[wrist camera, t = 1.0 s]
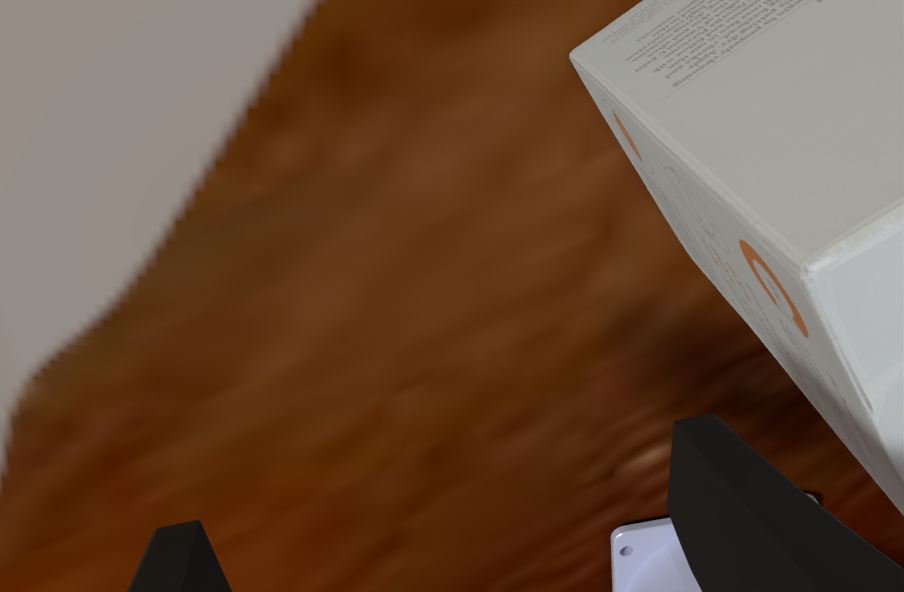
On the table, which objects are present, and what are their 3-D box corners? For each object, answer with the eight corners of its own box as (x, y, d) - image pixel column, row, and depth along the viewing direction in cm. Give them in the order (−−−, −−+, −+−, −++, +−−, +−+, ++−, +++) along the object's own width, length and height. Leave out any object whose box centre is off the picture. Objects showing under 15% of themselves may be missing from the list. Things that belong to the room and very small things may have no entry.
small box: (876, 144, 24) (1339, 417, 13) (689, 261, 25) (961, 602, 14) (773, -103, 20) (1299, -24, 9) (560, 48, 22) (790, 281, 10)
